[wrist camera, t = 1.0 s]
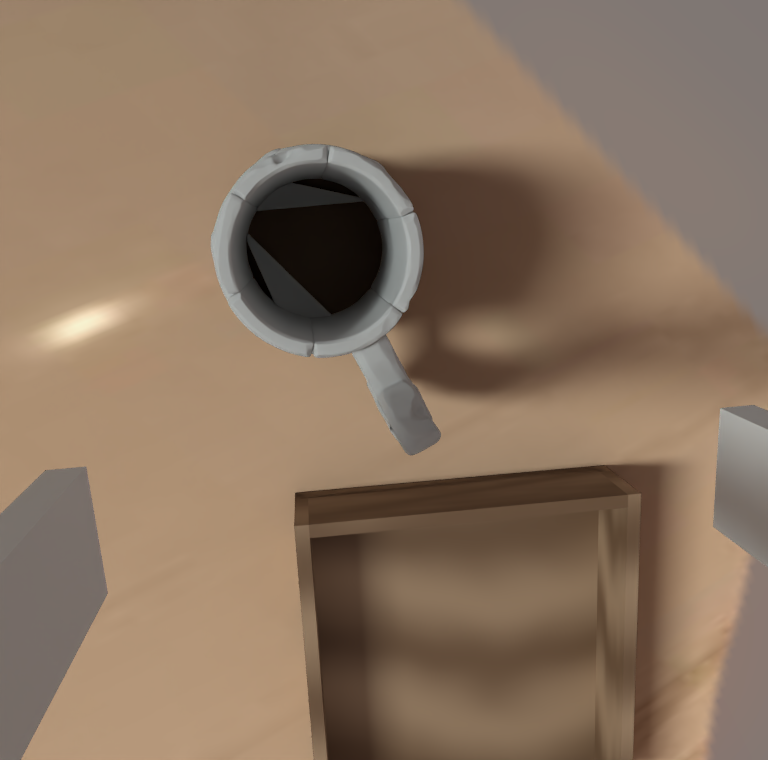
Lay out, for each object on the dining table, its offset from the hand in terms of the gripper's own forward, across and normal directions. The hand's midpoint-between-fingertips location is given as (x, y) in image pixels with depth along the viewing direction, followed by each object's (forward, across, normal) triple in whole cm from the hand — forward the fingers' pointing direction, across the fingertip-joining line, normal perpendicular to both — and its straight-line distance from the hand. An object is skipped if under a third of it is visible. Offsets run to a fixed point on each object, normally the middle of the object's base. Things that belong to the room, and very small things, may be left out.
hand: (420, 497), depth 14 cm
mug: (+18, -1, +2) cm, 18 cm away
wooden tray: (+17, +4, -16) cm, 24 cm away
